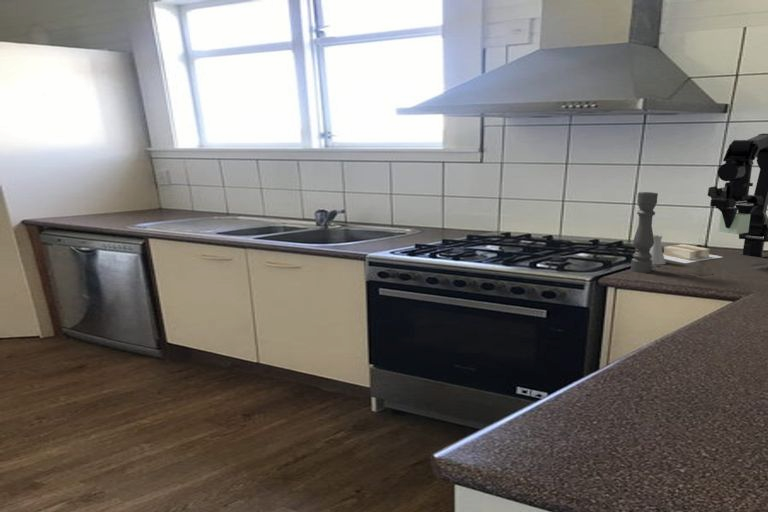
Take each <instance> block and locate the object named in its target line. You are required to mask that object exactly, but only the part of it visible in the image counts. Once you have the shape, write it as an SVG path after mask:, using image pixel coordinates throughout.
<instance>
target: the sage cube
mask: <svg viewBox="0 0 768 512" xmlns="http://www.w3.org/2000/svg"><path fill="white" fill-rule="evenodd" d="M750 215H751V214H743V213H738V212H737V213H736V215H735V218H734V220H733V222H732V225H731V226H730V228H726V226H725V223H724V219H723V215H722V212H721V213H720V217H719V226H718V232H721V233H726V234H727V233H728V234H732V235H739V234H741V233H748V231H749V223H750Z"/></svg>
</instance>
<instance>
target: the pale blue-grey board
mask: <svg viewBox="0 0 768 512" xmlns="http://www.w3.org/2000/svg"><path fill="white" fill-rule="evenodd" d="M663 256H664V259H665V260H667V261H672V262H677V263H680V264H689V263H695V262H701V261H707V260H714V259H719V258H720V259H721V258H722V256H720V255H714V254H710V253H709V257H708V258H702V259H696V260H685V259H680V258H675V257H671V256H666V255H664V252H663Z"/></svg>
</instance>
